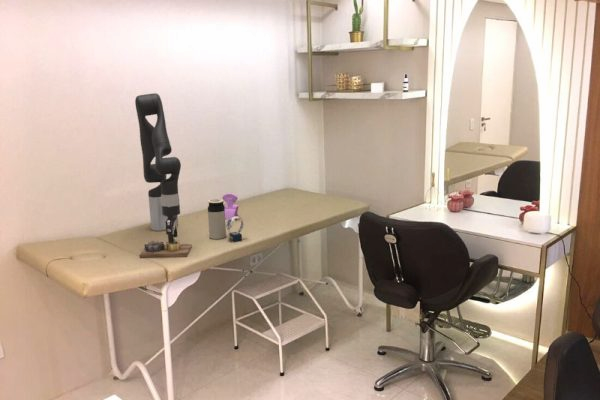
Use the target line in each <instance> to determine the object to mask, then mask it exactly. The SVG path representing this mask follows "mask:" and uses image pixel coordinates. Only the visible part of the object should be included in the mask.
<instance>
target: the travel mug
mask: <svg viewBox="0 0 600 400" xmlns="http://www.w3.org/2000/svg"><path fill="white" fill-rule="evenodd" d="M224 202H225V201H224V200H223V199H222V198H213V199H208V200H207V203H208V206H207V219H208V221H207V222H208V237H209V238H210V239H212V240H221V239H224V238H226V237H227V231H226V230H227V227H226V225H227V222H225V217H226V214H225V206H226V205H225V204H224Z"/></svg>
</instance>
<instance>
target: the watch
mask: <svg viewBox="0 0 600 400" xmlns="http://www.w3.org/2000/svg"><path fill="white" fill-rule="evenodd" d="M236 219H237V220H240V222H241V223H240V226H239V228H238V230H237V231H234V232H231V229H232V227H233V226H234V223H235V222H234V220H236ZM244 225H245V224H244V220H243V219H242V218H240V217H232V218H230V219H229V220H228V222H226V230H227V231H228V232H229V240H230V241H231V242H232V243H239V242H243V235H242V233H241V232H242V231H243V230H244V229H243V228H244V227H245V226H244Z"/></svg>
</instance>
